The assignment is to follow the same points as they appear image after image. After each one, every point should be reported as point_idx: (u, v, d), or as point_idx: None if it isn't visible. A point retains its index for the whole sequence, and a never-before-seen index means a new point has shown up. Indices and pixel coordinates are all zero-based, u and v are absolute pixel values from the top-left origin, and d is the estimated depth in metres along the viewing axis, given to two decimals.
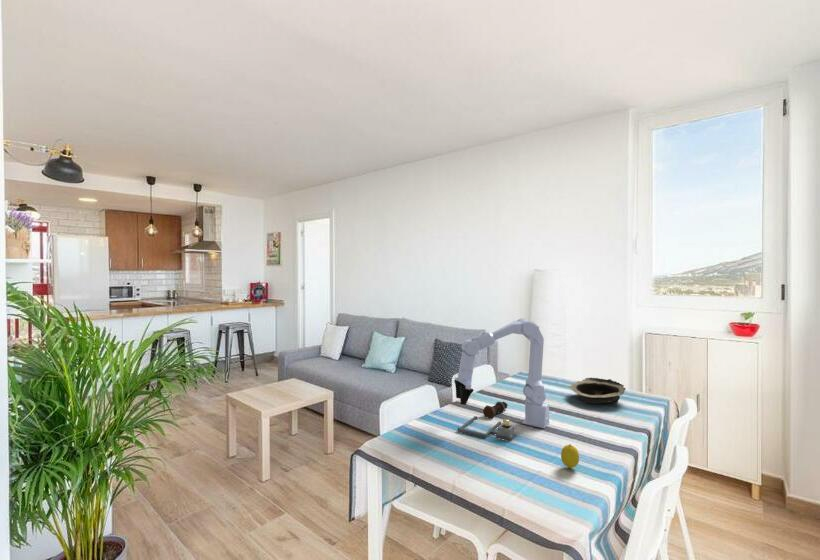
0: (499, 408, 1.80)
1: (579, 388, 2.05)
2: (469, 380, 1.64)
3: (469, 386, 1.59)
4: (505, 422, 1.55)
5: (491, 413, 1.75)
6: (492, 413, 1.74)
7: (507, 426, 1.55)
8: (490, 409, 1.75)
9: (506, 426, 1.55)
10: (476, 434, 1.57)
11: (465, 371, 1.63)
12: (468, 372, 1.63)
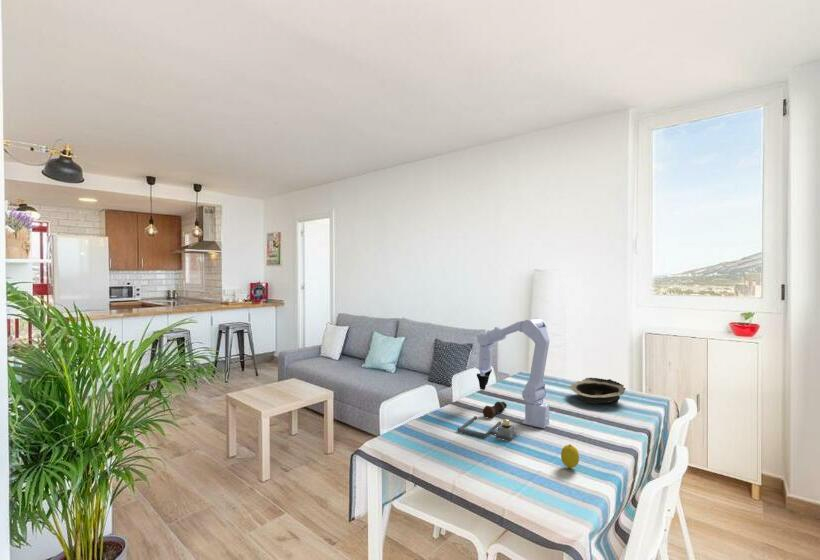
0: (499, 408, 1.80)
1: (579, 388, 2.05)
2: (487, 368, 1.85)
3: (482, 373, 1.81)
4: (505, 422, 1.55)
5: (490, 414, 1.75)
6: (492, 413, 1.74)
7: (507, 426, 1.55)
8: (490, 409, 1.75)
9: (506, 426, 1.55)
10: (476, 434, 1.57)
11: (482, 360, 1.85)
12: (484, 361, 1.85)
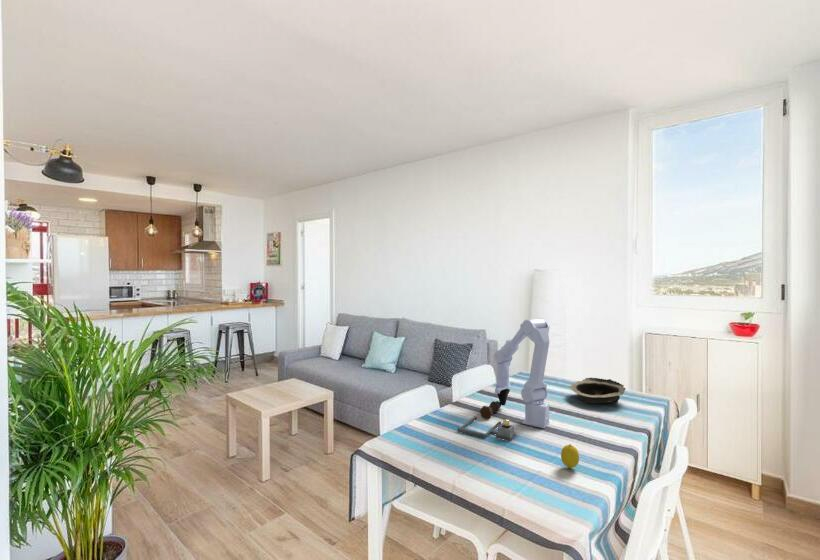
0: (495, 408, 1.80)
1: (579, 388, 2.05)
2: (503, 386, 1.84)
3: (497, 391, 1.80)
4: (505, 422, 1.55)
5: (488, 414, 1.74)
6: (490, 413, 1.74)
7: (507, 426, 1.55)
8: (487, 409, 1.74)
9: (506, 426, 1.55)
10: (476, 434, 1.57)
11: (498, 377, 1.85)
12: (500, 378, 1.84)
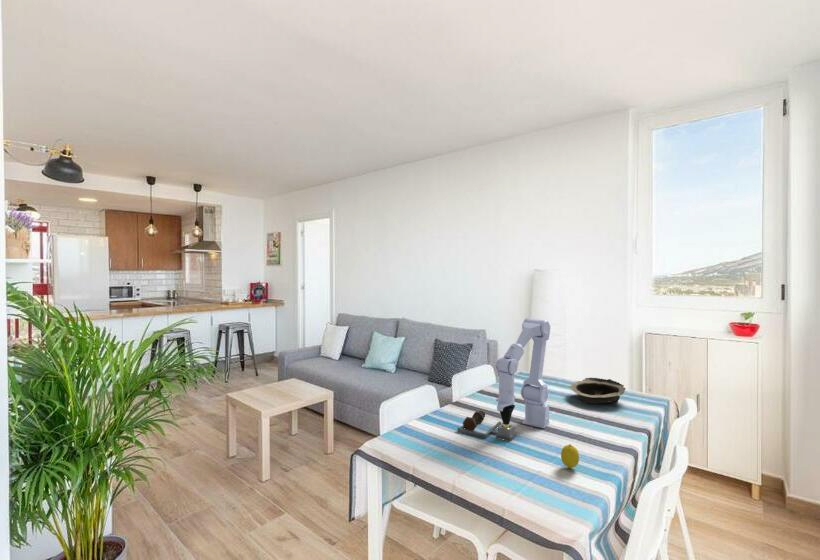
0: (478, 418, 1.68)
1: (579, 388, 2.05)
2: (507, 401, 1.53)
3: (500, 408, 1.50)
4: (505, 426, 1.55)
5: (472, 425, 1.62)
6: (473, 425, 1.61)
7: None
8: (471, 421, 1.62)
9: None
10: (476, 434, 1.57)
11: (501, 391, 1.54)
12: (503, 392, 1.53)
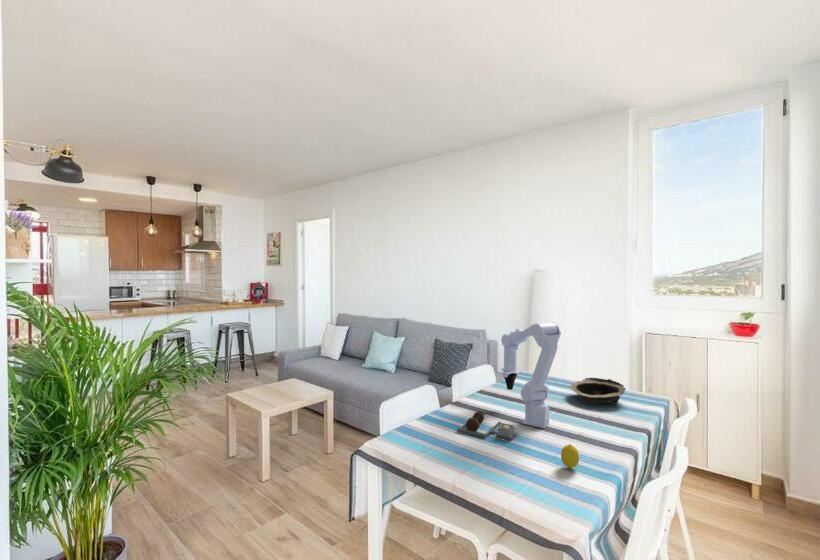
0: (480, 419, 1.68)
1: (579, 388, 2.05)
2: (511, 370, 1.83)
3: (505, 374, 1.79)
4: None
5: (475, 426, 1.61)
6: (477, 426, 1.61)
7: None
8: (474, 422, 1.61)
9: None
10: (476, 434, 1.57)
11: (506, 362, 1.84)
12: (508, 362, 1.83)
